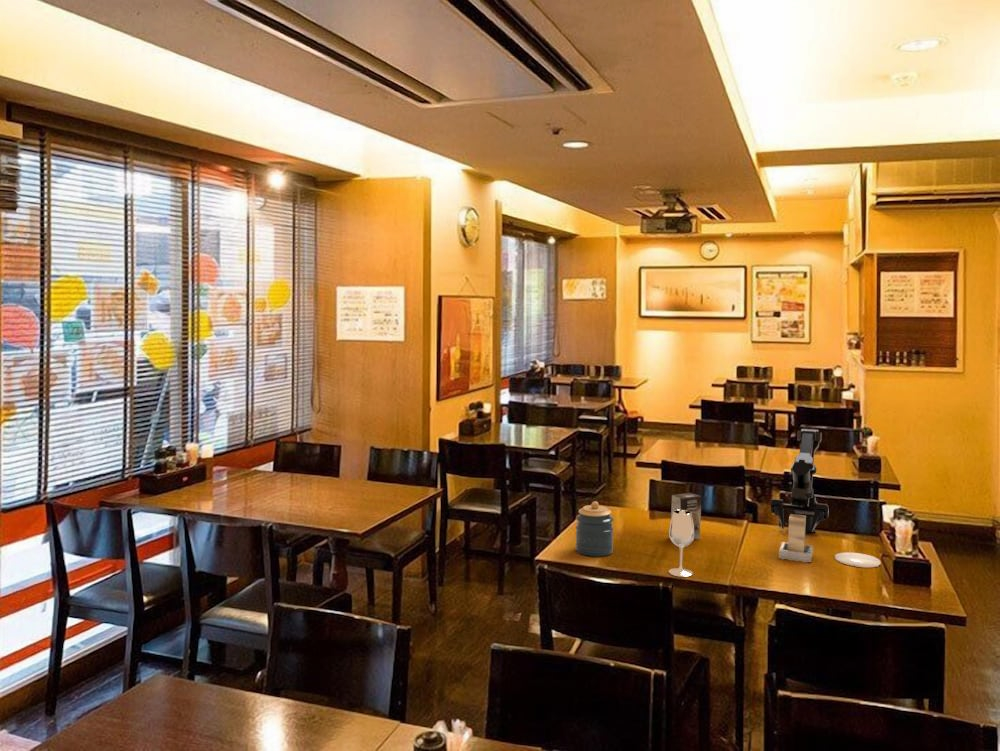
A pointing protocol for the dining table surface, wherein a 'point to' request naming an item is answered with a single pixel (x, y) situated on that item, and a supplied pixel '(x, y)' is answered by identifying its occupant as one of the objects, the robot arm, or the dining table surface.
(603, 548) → the canister
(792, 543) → the maple block
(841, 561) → the plate
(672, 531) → the wineglass
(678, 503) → the coffee box
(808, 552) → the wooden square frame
